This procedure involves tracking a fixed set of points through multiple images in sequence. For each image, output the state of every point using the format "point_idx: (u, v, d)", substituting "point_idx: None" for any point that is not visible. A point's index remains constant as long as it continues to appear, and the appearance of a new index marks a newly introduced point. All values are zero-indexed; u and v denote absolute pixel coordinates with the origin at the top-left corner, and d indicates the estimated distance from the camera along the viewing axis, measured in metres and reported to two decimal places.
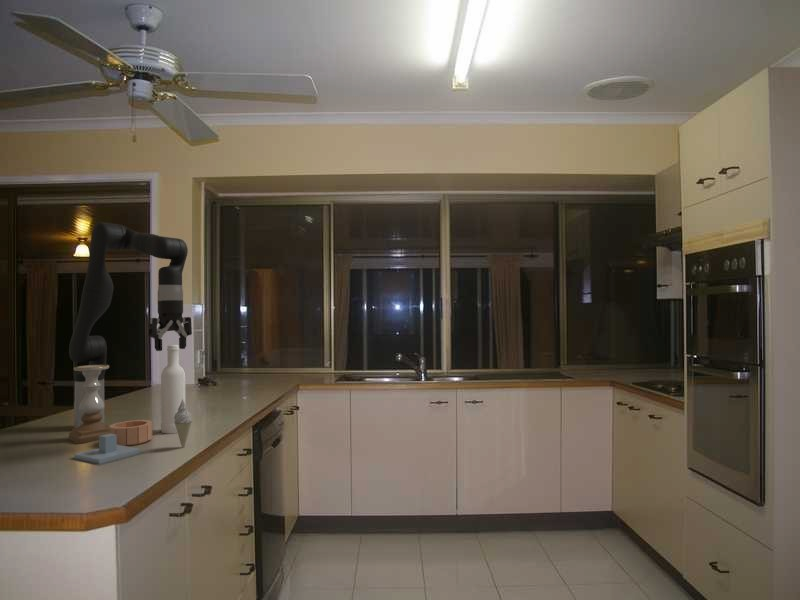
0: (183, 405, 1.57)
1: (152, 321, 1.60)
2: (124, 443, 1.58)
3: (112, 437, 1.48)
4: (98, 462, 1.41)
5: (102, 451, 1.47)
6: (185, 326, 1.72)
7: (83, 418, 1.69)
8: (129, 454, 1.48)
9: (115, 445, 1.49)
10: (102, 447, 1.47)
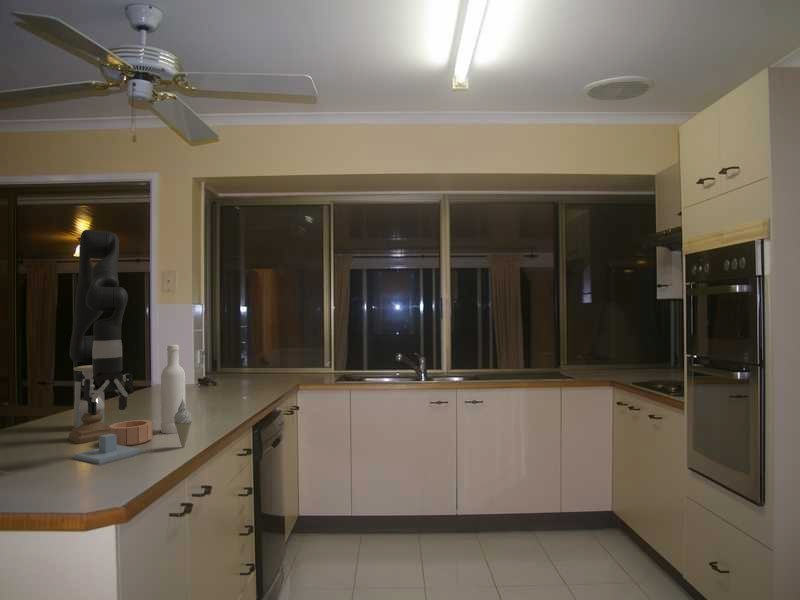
0: (183, 405, 1.57)
1: (84, 383, 1.43)
2: (124, 443, 1.58)
3: (112, 437, 1.48)
4: (98, 462, 1.41)
5: (102, 451, 1.47)
6: (126, 384, 1.54)
7: (83, 418, 1.69)
8: (129, 454, 1.48)
9: (115, 445, 1.49)
10: (102, 447, 1.47)
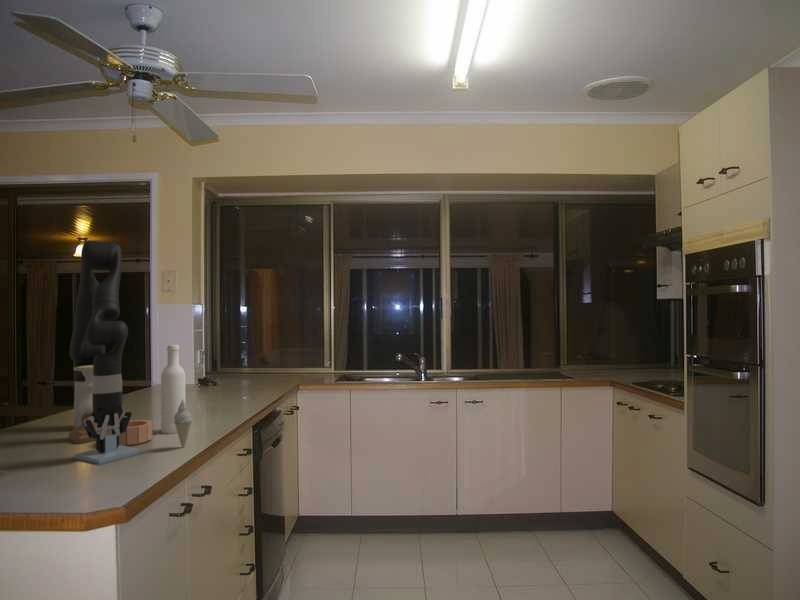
0: (183, 405, 1.57)
1: (86, 424, 1.43)
2: (124, 443, 1.58)
3: (112, 437, 1.48)
4: (98, 462, 1.41)
5: None
6: (122, 421, 1.53)
7: (83, 418, 1.69)
8: (129, 454, 1.48)
9: (115, 445, 1.49)
10: None
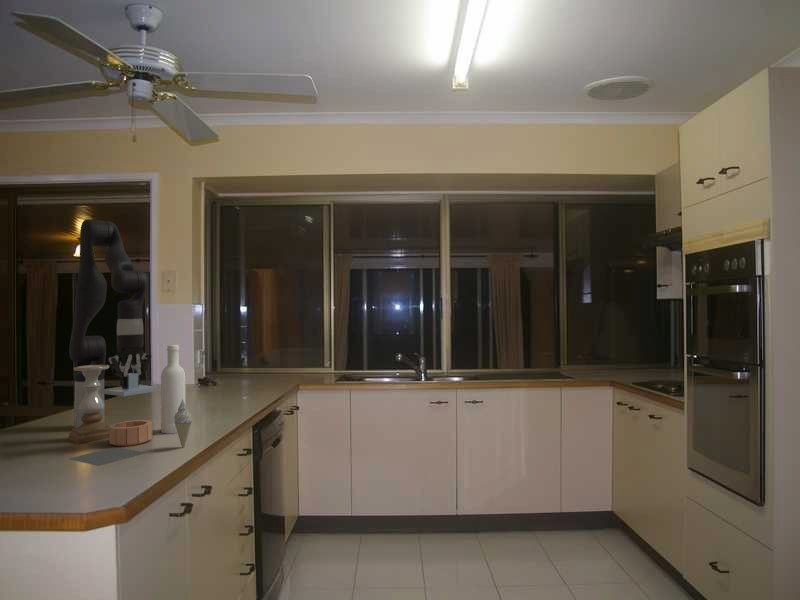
0: (183, 405, 1.57)
1: (112, 362, 1.59)
2: (124, 443, 1.58)
3: (134, 375, 1.64)
4: (123, 395, 1.57)
5: None
6: (142, 362, 1.69)
7: (83, 418, 1.69)
8: (150, 390, 1.64)
9: (137, 383, 1.65)
10: None
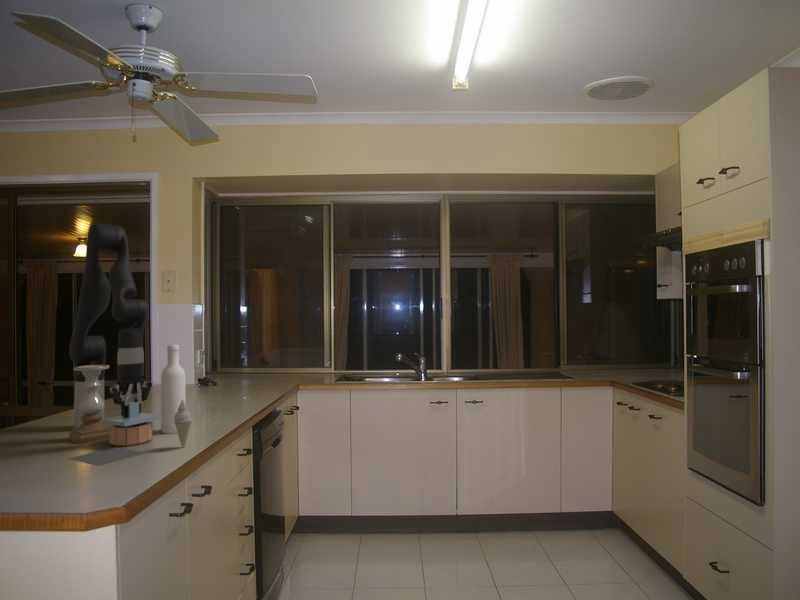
0: (183, 405, 1.57)
1: (112, 392, 1.59)
2: (124, 443, 1.58)
3: (135, 404, 1.64)
4: (124, 425, 1.57)
5: None
6: (143, 390, 1.69)
7: (83, 418, 1.69)
8: (151, 419, 1.64)
9: (138, 411, 1.65)
10: None
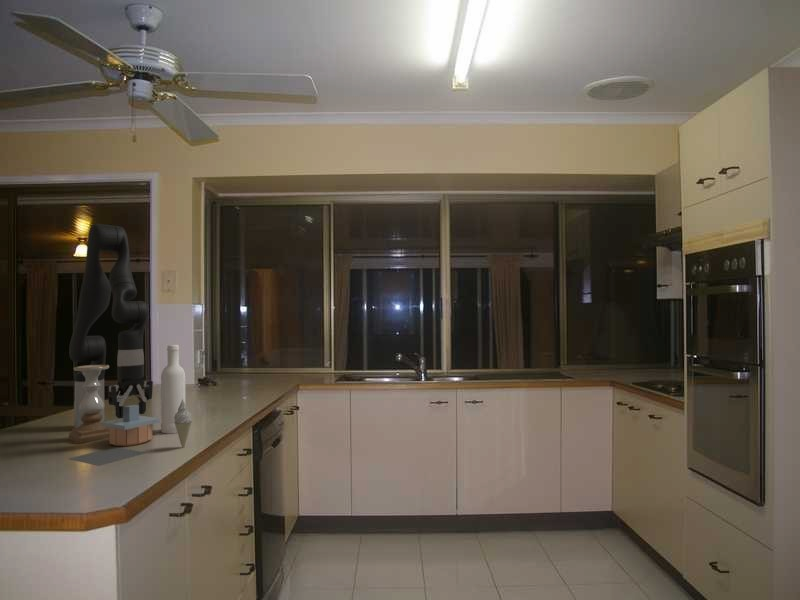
0: (183, 405, 1.57)
1: (111, 390, 1.59)
2: (124, 443, 1.58)
3: (135, 407, 1.64)
4: (123, 428, 1.57)
5: (126, 420, 1.63)
6: (146, 390, 1.70)
7: (83, 418, 1.69)
8: (151, 422, 1.64)
9: (138, 415, 1.65)
10: (126, 416, 1.63)
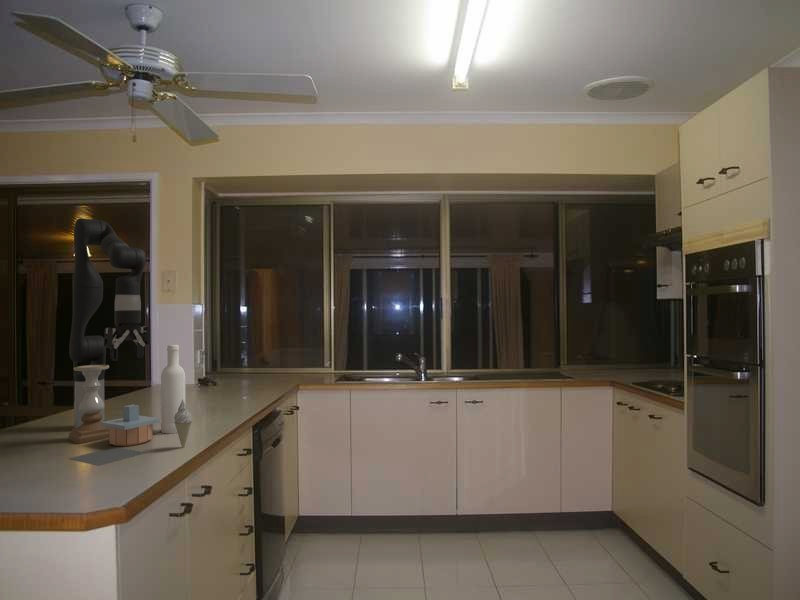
0: (183, 405, 1.57)
1: (107, 331, 1.61)
2: (124, 443, 1.58)
3: (135, 407, 1.64)
4: (123, 428, 1.57)
5: (126, 420, 1.63)
6: (143, 335, 1.72)
7: (83, 418, 1.69)
8: (151, 422, 1.64)
9: (138, 415, 1.65)
10: (126, 416, 1.63)
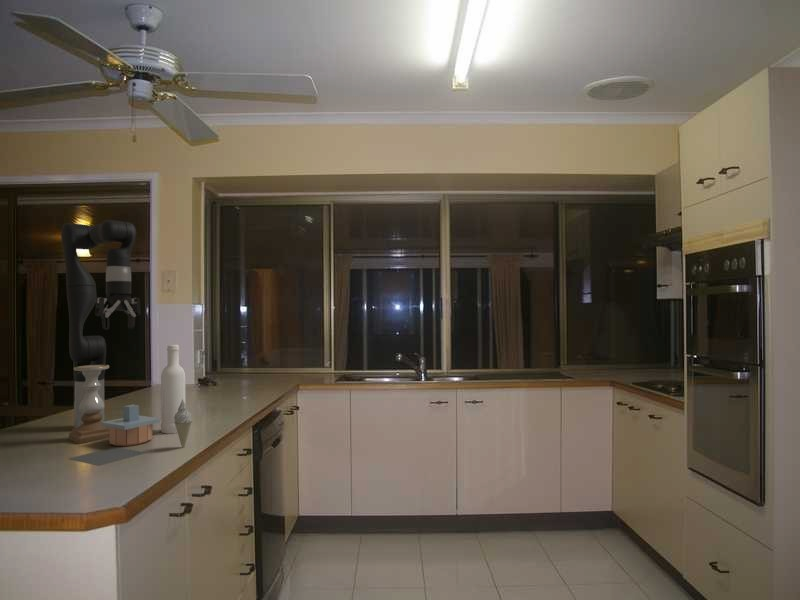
0: (183, 405, 1.57)
1: (99, 301, 1.67)
2: (124, 443, 1.58)
3: (135, 407, 1.64)
4: (123, 428, 1.57)
5: (126, 420, 1.63)
6: (134, 307, 1.78)
7: (83, 418, 1.69)
8: (151, 422, 1.64)
9: (138, 415, 1.65)
10: (126, 416, 1.63)
